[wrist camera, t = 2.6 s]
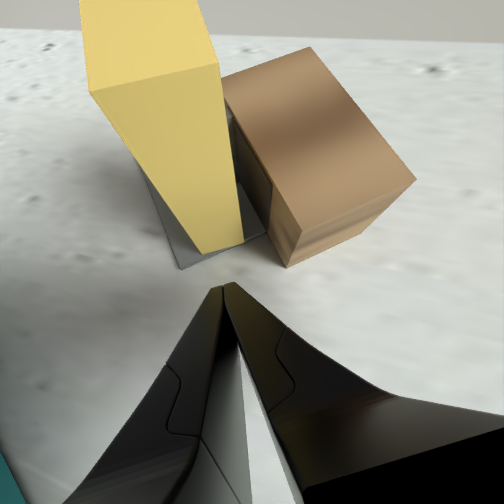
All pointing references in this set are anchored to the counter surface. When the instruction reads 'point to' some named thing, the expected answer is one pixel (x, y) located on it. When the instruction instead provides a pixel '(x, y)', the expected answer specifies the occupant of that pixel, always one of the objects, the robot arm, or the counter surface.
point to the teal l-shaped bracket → (8, 486)
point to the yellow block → (167, 107)
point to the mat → (182, 241)
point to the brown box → (307, 155)
